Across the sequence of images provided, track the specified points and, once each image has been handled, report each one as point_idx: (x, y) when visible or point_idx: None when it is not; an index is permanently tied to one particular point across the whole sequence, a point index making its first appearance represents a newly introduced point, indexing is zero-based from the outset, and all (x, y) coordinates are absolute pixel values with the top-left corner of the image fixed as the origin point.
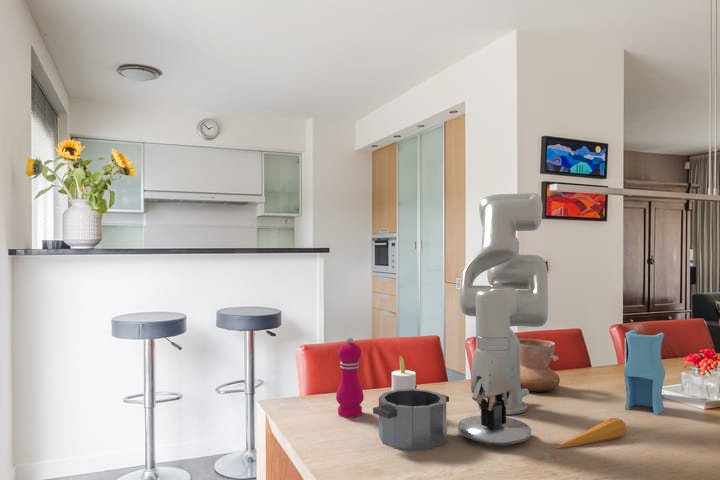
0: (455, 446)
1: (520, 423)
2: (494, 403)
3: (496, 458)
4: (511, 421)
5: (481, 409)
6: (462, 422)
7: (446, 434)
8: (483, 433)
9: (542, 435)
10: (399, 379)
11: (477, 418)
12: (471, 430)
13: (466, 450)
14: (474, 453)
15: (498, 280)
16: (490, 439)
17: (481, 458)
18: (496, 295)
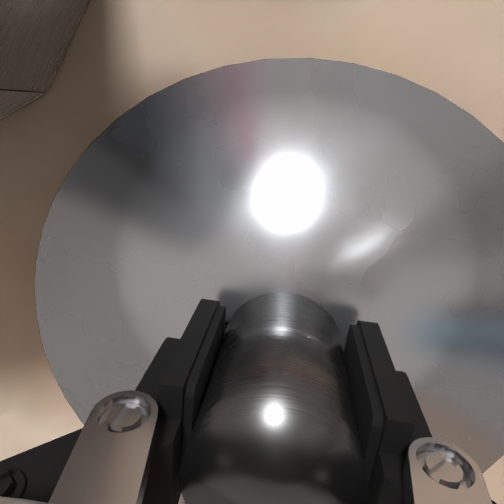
0: (3, 214)
1: (469, 446)
2: (317, 484)
3: (57, 426)
4: (476, 390)
5: (163, 374)
6: (189, 114)
7: (23, 94)
8: (115, 353)
9: (501, 477)
10: None
11: (380, 153)
12: (96, 271)
13: (13, 288)
14: (18, 335)
15: None
16: (80, 413)
17: (3, 382)
18: None
